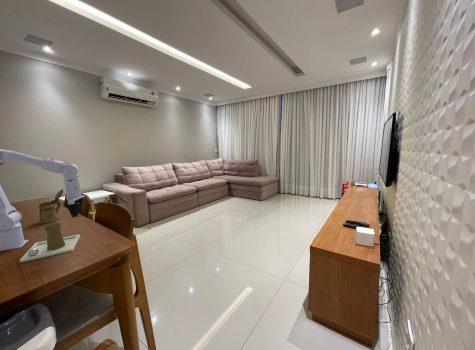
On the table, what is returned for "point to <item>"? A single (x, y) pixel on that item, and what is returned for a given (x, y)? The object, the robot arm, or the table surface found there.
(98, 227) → the table surface
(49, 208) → the wooden mug
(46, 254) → the tray
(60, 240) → the cork
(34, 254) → the mixing ball
